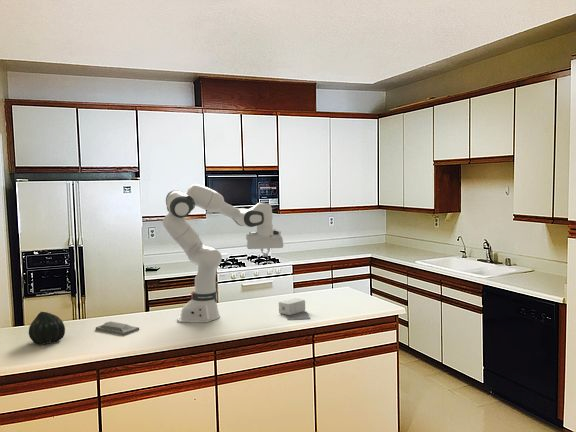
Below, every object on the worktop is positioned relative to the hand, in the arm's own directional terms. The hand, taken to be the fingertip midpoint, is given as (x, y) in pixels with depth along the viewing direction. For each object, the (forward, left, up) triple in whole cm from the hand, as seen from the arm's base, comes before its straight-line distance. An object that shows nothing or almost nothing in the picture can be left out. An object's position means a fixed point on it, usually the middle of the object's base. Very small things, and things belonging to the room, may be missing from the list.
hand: (265, 256), depth 258 cm
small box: (+8, -9, -28) cm, 30 cm away
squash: (-105, -32, -31) cm, 114 cm away
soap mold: (-76, -20, -32) cm, 85 cm away
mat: (+16, -11, -31) cm, 37 cm away
